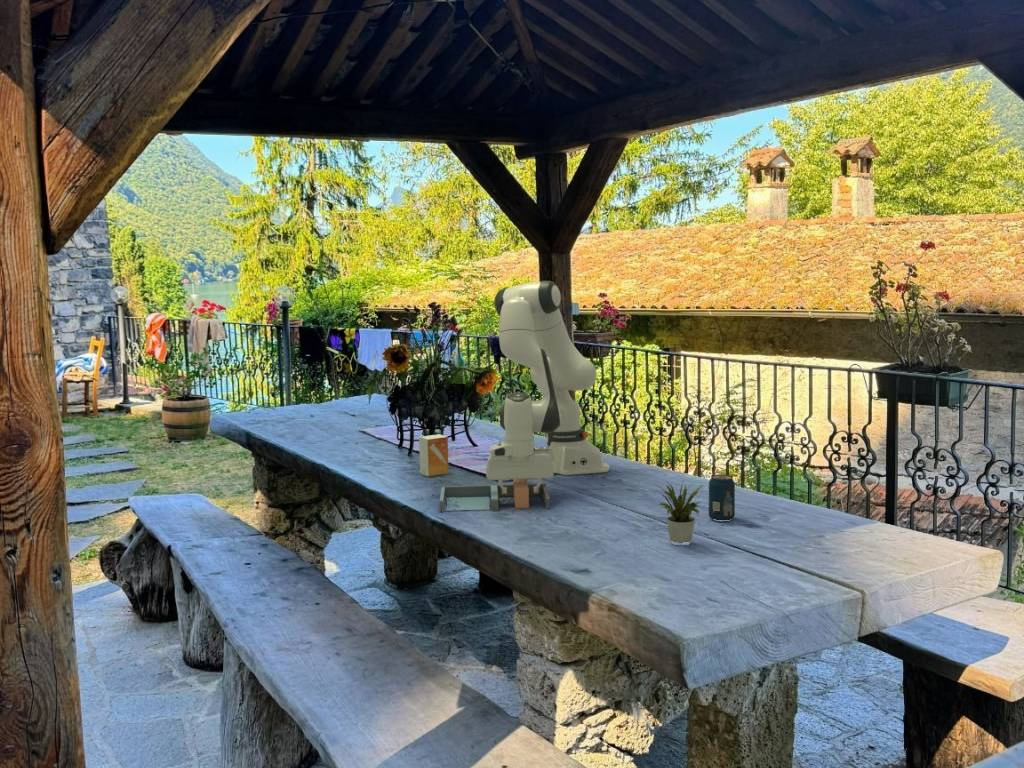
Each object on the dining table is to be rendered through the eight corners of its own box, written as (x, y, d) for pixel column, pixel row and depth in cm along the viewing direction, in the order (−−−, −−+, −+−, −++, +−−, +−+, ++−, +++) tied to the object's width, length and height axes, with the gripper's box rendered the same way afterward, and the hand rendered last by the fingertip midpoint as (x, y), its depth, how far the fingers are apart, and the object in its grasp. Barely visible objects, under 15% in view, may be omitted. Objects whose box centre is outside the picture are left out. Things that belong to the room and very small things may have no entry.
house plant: (641, 548, 230) (641, 484, 228) (653, 533, 243) (653, 472, 241) (699, 553, 225) (699, 488, 223) (708, 537, 238) (708, 475, 236)
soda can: (715, 514, 259) (716, 472, 258) (738, 518, 255) (739, 475, 253) (704, 520, 254) (704, 477, 252) (727, 524, 249) (727, 480, 248)
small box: (428, 477, 314) (427, 439, 313) (419, 473, 319) (418, 436, 318) (449, 473, 319) (448, 436, 317) (440, 470, 324) (439, 433, 322)
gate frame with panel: (545, 494, 286) (545, 483, 286) (549, 508, 270) (549, 496, 269) (442, 497, 285) (441, 486, 285) (439, 512, 269) (439, 500, 268)
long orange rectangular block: (526, 498, 283) (526, 478, 283) (529, 508, 271) (528, 488, 271) (513, 498, 283) (513, 479, 282) (515, 508, 271) (514, 488, 271)
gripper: (553, 445, 279) (554, 489, 280) (485, 446, 278) (486, 491, 280) (555, 449, 272) (555, 494, 274) (485, 450, 272) (486, 496, 273)
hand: (520, 493), depth 277 cm, fingers open, 8 cm apart
